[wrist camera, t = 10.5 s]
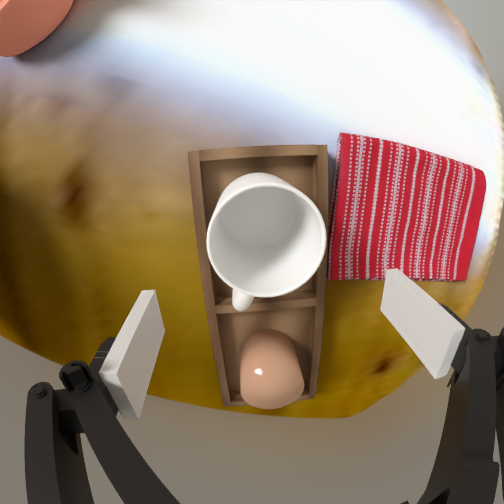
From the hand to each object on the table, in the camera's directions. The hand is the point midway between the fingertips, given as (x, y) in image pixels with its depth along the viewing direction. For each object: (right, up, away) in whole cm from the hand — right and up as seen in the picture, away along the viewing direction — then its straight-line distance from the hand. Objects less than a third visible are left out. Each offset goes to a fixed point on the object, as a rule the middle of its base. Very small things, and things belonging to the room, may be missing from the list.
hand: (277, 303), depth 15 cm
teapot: (-29, +35, +3) cm, 46 cm away
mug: (-1, +5, +15) cm, 15 cm away
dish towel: (+19, +7, +16) cm, 26 cm away
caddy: (0, -2, +18) cm, 18 cm away
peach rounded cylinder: (+1, -10, +20) cm, 22 cm away
